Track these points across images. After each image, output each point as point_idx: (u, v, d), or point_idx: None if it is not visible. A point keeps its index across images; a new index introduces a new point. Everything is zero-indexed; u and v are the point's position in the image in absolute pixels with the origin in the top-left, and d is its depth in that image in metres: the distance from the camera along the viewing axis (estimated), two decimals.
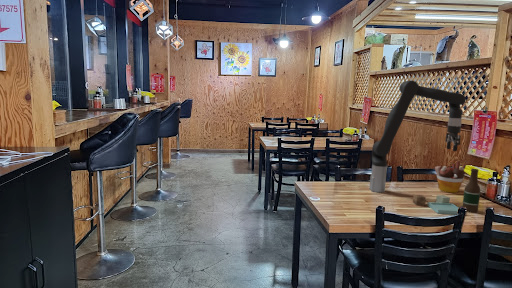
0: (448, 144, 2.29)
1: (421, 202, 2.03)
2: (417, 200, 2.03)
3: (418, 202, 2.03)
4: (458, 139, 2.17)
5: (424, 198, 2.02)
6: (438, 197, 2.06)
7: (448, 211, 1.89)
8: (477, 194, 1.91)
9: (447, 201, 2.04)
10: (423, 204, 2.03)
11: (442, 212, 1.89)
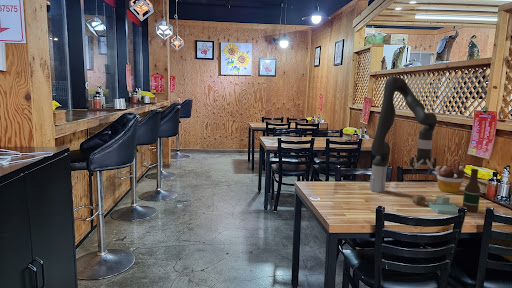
0: None
1: (421, 202, 2.03)
2: (417, 200, 2.03)
3: (418, 202, 2.03)
4: None
5: (424, 198, 2.02)
6: (438, 197, 2.06)
7: (448, 211, 1.89)
8: (477, 194, 1.91)
9: (447, 201, 2.04)
10: (423, 204, 2.03)
11: (442, 212, 1.89)
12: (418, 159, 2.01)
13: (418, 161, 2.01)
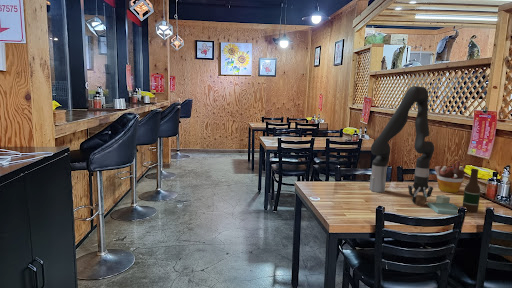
0: None
1: (421, 201, 2.03)
2: (417, 200, 2.03)
3: (418, 202, 2.03)
4: None
5: (424, 198, 2.02)
6: (438, 197, 2.06)
7: (448, 211, 1.89)
8: (477, 194, 1.91)
9: (447, 201, 2.04)
10: (423, 204, 2.03)
11: (442, 212, 1.89)
12: (415, 187, 2.03)
13: (416, 189, 2.04)
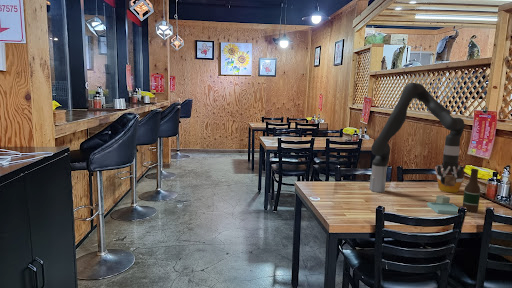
0: None
1: (451, 182, 1.91)
2: (447, 180, 1.91)
3: (447, 182, 1.91)
4: None
5: (454, 178, 1.91)
6: (438, 197, 2.06)
7: (448, 211, 1.89)
8: (477, 194, 1.91)
9: (447, 201, 2.04)
10: (453, 184, 1.91)
11: (442, 212, 1.89)
12: (445, 166, 1.92)
13: (445, 169, 1.92)
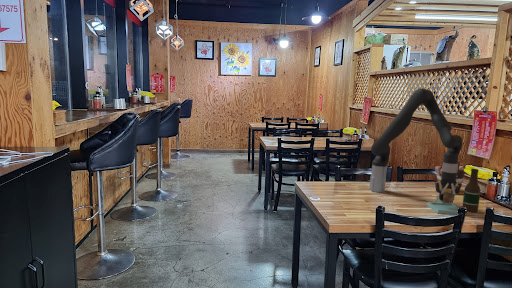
0: None
1: (449, 199, 1.92)
2: (445, 197, 1.92)
3: (445, 199, 1.93)
4: None
5: (452, 195, 1.92)
6: (438, 197, 2.06)
7: (448, 211, 1.89)
8: (477, 194, 1.91)
9: None
10: (451, 201, 1.93)
11: (442, 212, 1.89)
12: (443, 183, 1.93)
13: (443, 186, 1.93)
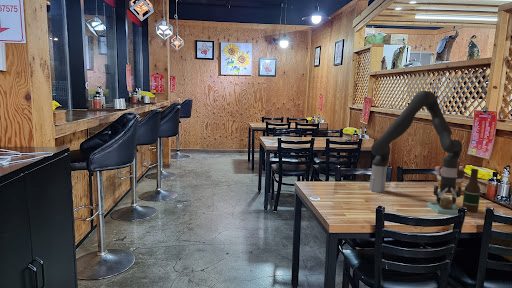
0: None
1: (448, 205, 1.93)
2: (444, 204, 1.93)
3: (444, 205, 1.93)
4: None
5: (451, 201, 1.93)
6: None
7: (448, 211, 1.89)
8: (477, 194, 1.91)
9: None
10: (450, 208, 1.93)
11: (442, 212, 1.89)
12: (442, 187, 1.93)
13: (442, 190, 1.94)
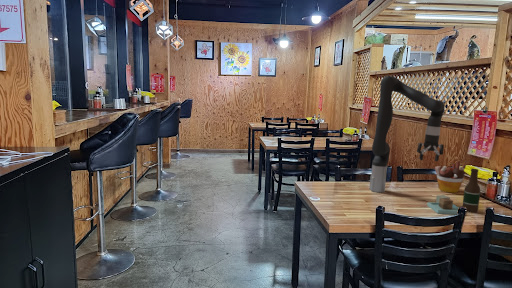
0: None
1: (448, 205, 1.93)
2: (444, 204, 1.93)
3: (444, 205, 1.93)
4: (442, 148, 2.06)
5: (451, 201, 1.93)
6: (438, 197, 2.06)
7: (448, 211, 1.89)
8: (477, 194, 1.91)
9: None
10: (450, 208, 1.93)
11: (442, 212, 1.89)
12: (426, 145, 2.06)
13: (425, 147, 2.06)
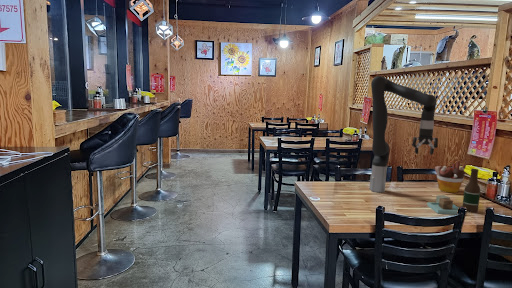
0: None
1: (448, 205, 1.93)
2: (444, 204, 1.93)
3: (444, 205, 1.93)
4: None
5: (451, 201, 1.93)
6: (438, 197, 2.06)
7: (448, 211, 1.89)
8: (477, 194, 1.91)
9: None
10: (450, 208, 1.93)
11: (442, 212, 1.89)
12: (420, 139, 2.11)
13: (420, 141, 2.11)
